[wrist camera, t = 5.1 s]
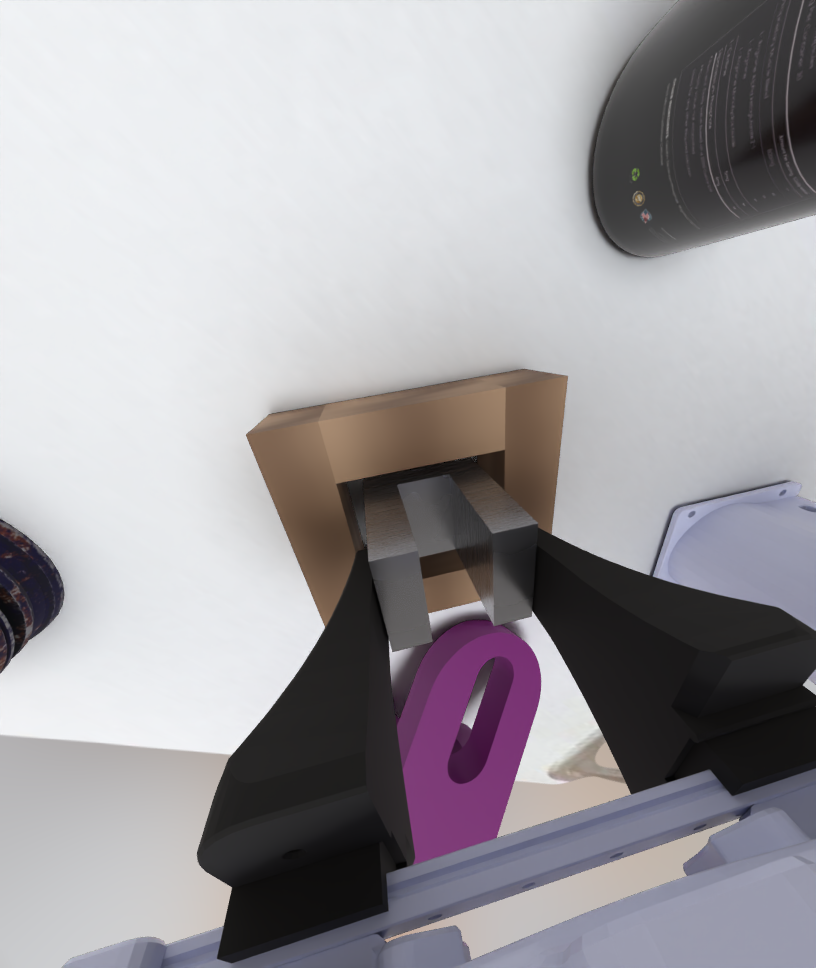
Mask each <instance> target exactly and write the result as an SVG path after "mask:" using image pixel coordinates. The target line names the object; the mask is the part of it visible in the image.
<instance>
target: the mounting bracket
mask: <svg viewBox="0 0 816 968" xmlns="http://www.w3.org/2000/svg"><path fill="white" fill-rule="evenodd" d="M494 657H495V662H494V665H493V668H492V671H491V674H490V677H489V680H488V683H487V686H486V689H485V692H484V695H483V698H482V701H481V704H480V707H479V710H478V713H477V716H476V719H475V722H474V725H473V728H472V730H471V729H470V728H469V727H468V726H467V725H465V724H463V723H461V722H462V719H463V716H464V713H465V710H466V707H467V704H468V701H469V698H470V696H471V693H472V690H473V687H474V684H475V681H476V678H477V675H478V673H479V671H480V669H481V668H482V666H483V665H484V664H485V663H486V662H487V661H488V660H490V659H492V658H494ZM540 692H541V674H540V668H539V664H538V661H537V658H536V656H535V654H534V652H533V651H532V649H531V648H530V646H529V645H528V644H527V643H526V642H525V641H523V640H522V639H521V638H519V637H518V636H517V635H515V634H514V633H513V632H511V631H510V630H508V629H507V628H506V627H504V626H503V625H497V626H494V625H493V623H492V621H489V620H468V621H464V622H462V623H459V624H457V625H455V626H454V627H452V628H450V629H449V630H447V631H446V632H445V633H444V634H442V635H441V636H440V637H439V638H438V639H437V640H436V641H435V642H434V644H433V645H432V646H431V647H430V649H429V650H428V651H427V653H426V654H425V656H424V658H423V660H422V662H421V663H420V666H419V668H418V670H417V673H416V676H415V678H414V681H413V684H412V687H411V689H410V692H409V695H408V698H407V700H406V703H405V706H404V709H403V711H402V714H401V717H400V718H399V717H398V716H396V715H395V718H396V725H397V733H398V740H399V747H400V755H401V762H402V769H403V776H404V783H405V790H406V797H407V804H408V810H409V817H410V824H411V831H412V838H413V844H414V851H415V860H414V863H413V865H414V864H418V863H421V862H424V861H427V860H430V859H433V858H436V857H439V856H442V855H445V854H449V853H452V852H455V851H458V850H461V849H464V848H467V847H470V846H473V845H476V844H480V843H483V842H486V841H489V840H492V839H495V838H497V835H498V831H499V828H500V825H501V821H502V819H503V815H504V812H505V809H506V806H507V802H508V799H509V796H510V793H511V790H512V787H513V784H514V780H515V777H516V774H517V771H518V768H519V765H520V761H521V758H522V755H523V752H524V749H525V746H526V742H527V739H528V736H529V733H530V730H531V726H532V723H533V720H534V717H535V714H536V711H537V707H538V703H539V699H540Z"/></svg>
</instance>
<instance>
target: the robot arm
mask: <svg viewBox="0 0 816 968" xmlns="http://www.w3.org/2000/svg"><path fill="white" fill-rule="evenodd" d="M801 487H802V485H801V484H800V483H798V482H794V481H792V482H787V483H783V484H779V485H774V486H770V487H766V488H761V489H757V490H753V491H748V492H744V493H740V494H735V495H731V496H727V497H722V498H718V499H714V500H710V501H705V502H701V503H697V504H692V505H688V506H684V507H680V508H678V509H677V510H676V511H675V512H674V513H673V516H672V519H671V522H670V525H669V528H668V531H667V534H666V537H665V540H664V543H663V547H662V550H661V553H660V556H659V559H658V562H657V565H656V568H655V571H654V574H653V576H649V575H646V574H643V573H640V572H637V571H634V570H631V569H629V568H626V567H623V566H621V565H618V564H615V563H613V562H610V561H608V560H605V559H603V558H600V557H598V556H596V555H593V554H591V553H589V552H587V551H584V550H582V549H580V548H578V547H576V546H574V545H571V544H569V543H567V542H565V541H563V540H561V539H559V538H557V537H555V536H553V535H552V534H550V533H548V532H546V531H544V530H542V529H540V528H538V536H537V550H536V564H535V577H534V591H533V605H532V611H533V612H534V614H535V615H536V617H537V618H538V619H539V621H540V622H541V624H542V625H543V627H544V628H545V630H546V631H547V633H548V634H549V636H550V637H551V639H552V640H553V642H554V644H555V645H556V647H557V649H558V651H559V653H560V654H561V656H562V658H563V660H564V661H565V663H566V665H567V667H568V668H569V670H570V672H571V674H572V676H573V678H574V680H575V681H576V683H577V685H578V687H579V689H580V691H581V693H582V694H583V696H584V698H585V700H586V702H587V704H588V706H589V708H590V710H591V712H592V714H593V716H594V718H595V720H596V722H597V724H598V726H599V728H600V730H601V732H602V734H603V736H604V738H605V740H606V742H607V744H608V746H609V748H610V750H611V752H612V754H613V756H614V758H615V761H616V763H617V765H618V767H619V769H620V771H621V773H622V775H623V777H624V780H625V782H626V784H627V786H628V788H629V790H630V793H631V795H629V796H625V797H623V798H619V799H616V800H613V801H610V802H607V803H604V804H600V805H598V806H594V807H591V808H588V809H585V810H582V811H579V812H576V813H573V814H569V815H566V816H563V817H560V818H557V819H554V820H551V821H548V822H545V823H542V824H538V825H535V826H532V827H529V828H526V829H523V830H520V831H517V832H514V833H511V834H507V835H504V836H501V837H498V838H495V839H492V840H489V841H486V842H483V843H480V844H476V845H473V846H470V847H467V848H464V849H461V850H458V851H455V852H452V853H449V854H445V855H442V856H439V857H436V858H433V859H430V860H427V861H424V862H421V863H418V864H414V865H413V863H414V860H415V851H414V844H413V838H412V831H411V824H410V817H409V810H408V804H407V797H406V790H405V783H404V776H403V769H402V762H401V755H400V747H399V740H398V733H397V725H396V718H395V710H394V703H393V695H392V688H391V677H390V659H389V637H388V633H387V629H386V626H385V622H384V618H383V614H382V610H381V607H380V603H379V599H378V595H377V592H376V588H375V584H374V580H373V577H372V573H371V569H370V565H369V561H368V549H363V550H359V551H357V553H356V555H355V559H354V562H353V565H352V568H351V571H350V574H349V577H348V580H347V582H346V585H345V587H344V590H343V592H342V594H341V597H340V599H339V601H338V603H337V605H336V607H335V610H334V612H333V614H332V616H331V618H330V620H329V622H328V624H327V625H326V627H325V629H324V631H323V633H322V634H321V636H320V638H319V640H318V641H317V643H316V645H315V646H314V648H313V650H312V651H311V653H310V654H309V656H308V657H307V659H306V661H305V662H304V664H303V665H302V667H301V668H300V670H299V671H298V673H297V674H296V675H295V677H294V678H293V680H292V681H291V682H290V684H289V685H288V686H287V688H286V689H285V690H284V692H283V693H282V694H281V696H280V697H279V698H278V700H277V701H276V703H275V704H274V705H273V707H272V708H271V709H270V710H269V712H268V713H267V714H266V715H265V717H264V718H263V719H262V720H261V721H260V723H259V724H258V725H257V726H256V727H255V729H254V730H253V731H252V732H251V733H250V735H249V736H248V737H247V738H246V739H245V740H244V742H243V743H242V744H241V745H240V746H239V748H238V749H237V750H236V751H235V752H234V753H233V755H232V756H231V757H230V758H229V759H228V762H227V764H226V767H225V770H224V772H223V775H222V777H221V780H220V782H219V785H218V787H217V790H216V793H215V796H214V799H213V802H212V805H211V808H210V812H209V815H208V818H207V822H206V825H205V828H204V832H203V835H202V838H201V842H200V845H199V848H198V851H197V858H198V862H199V865H200V866H201V867H202V868H203V869H204V870H205V871H206V872H207V873H209V874H211V875H212V876H214V877H216V878H217V879H219V880H221V881H222V882H225V883H226V884H227V885H229V886H231V887H232V891H231V896H230V900H229V905H228V909H227V914H226V919H225V923H224V926H222V927H219V928H216V929H213V930H210V931H207V932H204V933H200V934H197V935H194V936H191V937H188V938H185V939H182V940H179V941H176V942H173V943H170V944H165V942H164V941H163V940H161V939H158V938H155V937H141V938H135V939H130V940H126V941H123V942H120V943H117V944H114V945H111V946H107V947H104V948H101V949H98V950H95V951H92V952H89V953H86V954H82V955H79V956H76V957H73V958H71V959H70V960H69V961H68V962H66V963H65V964H64V965H63V967H62V968H816V695H815V694H813V693H812V692H811V691H810V690H808V689H807V688H805V687H804V686H803V684H804V683H805V681H806V680H807V679H809V680H810V681H811V682H813V683H814V684H815V685H816V502H813V501H810V500H807V499H804V498H802V497H799V496H797V495H798V493H799V491H800V490H801ZM738 818H740V819H739V822H737V823H735V824H734V825H731V826H729V827H727V828H725V829H723V830H721V831H719V832H717V833H715V834H713V835H711V836H710V837H709V840H708V843H707V845H706V846H705V847H704V848H703V849H702V850H701V851H700V852H699V853H698V854H696V855H695V856H694V857H692V858H691V859H689V860H688V861H687V862H685V863H684V864H683V869H684V871H685V873H686V875H687V876H686V877H683V878H680V879H677V880H674V881H671V882H668V883H665V884H662V885H660V886H657V887H654V888H651V889H648V890H646V891H643V892H640V893H637V894H634V895H631V896H629V897H626V898H623V899H621V900H618V901H616V902H613V903H610V904H608V905H605V906H602V907H600V908H597V909H595V910H592V911H589V912H587V913H584V914H582V915H580V916H577V917H574V918H572V919H570V920H567V921H565V922H562V923H560V924H557V925H555V926H552V927H550V928H547V929H545V930H543V931H540V932H538V933H535V934H533V935H530V936H528V937H526V938H523V939H521V940H519V941H516V942H514V943H511V944H509V945H506V946H504V947H502V948H499V949H497V950H494V951H492V952H490V953H487V954H485V955H482V956H480V957H478V958H475V959H473V960H471V957H470V951H469V947H468V946H467V944H466V943H464V942H463V941H462V936H461V931H460V930H459V929H458V927H457V926H450V927H445V928H440V929H434V930H429V931H424V932H419V933H414V934H410V935H406V936H402V937H399V938H396V939H393V940H391V941H389V942H386V941H385V939H388V938H391V937H393V936H396V935H399V934H402V933H405V932H408V931H411V930H414V929H417V928H420V927H423V926H426V925H429V924H431V923H434V922H437V921H440V920H443V919H446V918H449V917H452V916H455V915H458V914H461V913H463V912H466V911H469V910H472V909H475V908H478V907H481V906H484V905H487V904H490V903H493V902H496V901H499V900H502V899H505V898H507V897H510V896H513V895H516V894H519V893H522V892H525V891H528V890H531V889H534V888H536V887H540V886H543V885H545V884H548V883H551V882H554V881H557V880H560V879H563V878H566V877H569V876H572V875H575V874H577V873H581V872H583V871H586V870H589V869H592V868H595V867H598V866H601V865H604V864H607V863H610V862H613V861H615V860H619V859H621V858H624V857H627V856H630V855H633V854H636V853H639V852H642V851H645V850H648V849H650V848H653V847H656V846H659V845H662V844H665V843H668V842H671V841H674V840H677V839H680V838H683V837H686V836H689V835H692V834H694V833H697V832H700V831H703V830H706V829H709V828H712V827H715V826H718V825H721V824H724V823H727V822H730V821H732V820H735V819H738Z"/></svg>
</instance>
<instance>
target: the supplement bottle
mask: <svg viewBox="0 0 816 968" xmlns="http://www.w3.org/2000/svg"><path fill="white" fill-rule="evenodd" d="M593 192H594V200H595V205H596V209H597V213H598V216H599V219H600V221H601V224H602V226H603V228H604V230H605V231H606V233H607V234H608V236H609V237H610V238H611V240H612V241H613V242H614V243H615V244H616V245H617V246H619V247H620V248H622V249H623V250H624V251H626V252H628V253H630V254H633V255H637V256H643V257H658V256H665V255H669V254H673V253H677V252H681V251H685V250H688V249H692V248H696V247H700V246H704V245H707V244H711V243H714V242H718V241H722V240H725V239H729V238H733V237H736V236H740V235H744V234H747V233H751V232H754V231H758V230H762V229H765V228H769V227H773V226H776V225H780V224H784V223H787V222H791V221H795V220H798V219H802V218H805V217H809V216H813V215H816V0H678V1H677V2H676V4H675V5H674V6H673V7H672V8H671V9H670V10H669V11H668V12H667V13H666V14H665V15H664V16H663V18H662V19H661V20H660V21H659V22H658V23H657V24H656V25H655V27H654V28H653V29H652V30H651V31H650V33H649V34H648V35H647V36H646V37H645V39H644V40H643V41H642V42H641V44H640V45H639V46H638V48H637V49H636V51H635V52H634V53H633V55H632V57H631V58H630V60H629V61H628V63H627V65H626V66H625V68H624V70H623V72H622V73H621V75H620V77H619V79H618V81H617V83H616V85H615V87H614V89H613V92H612V94H611V96H610V99H609V101H608V104H607V107H606V109H605V112H604V115H603V118H602V122H601V125H600V129H599V133H598V137H597V141H596V147H595V153H594V162H593Z"/></svg>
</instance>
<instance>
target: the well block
mask: <svg viewBox="0 0 816 968" xmlns="http://www.w3.org/2000/svg"><path fill="white" fill-rule="evenodd" d="M567 379H568V376H564V375H558V374H552V373H546V372H539V371H533V370H527V369H522V370H516V371H510V372H505V373H499V374H493V375H488V376H482V377H477V378H471V379H465V380H460V381H454V382H448V383H443V384H437V385H432V386H426V387H420V388H415V389H409V390H403V391H398V392H392V393H386V394H381V395H375V396H370V397H364V398H358V399H353V400H347V401H341V402H336V403H330V404H324V405H319V406H313V407H308V408H302V409H296V410H291V411H285V412H279V413H274V414H269V415H268V416H267V417H266V418H264V419H263V420H262V421H261V422H260V423H259V424H258V425H256V426H255V427H254V428H253V429H252V430H251V431H250V432H248V433H247V434H246V436H247V439H248V441H249V444H250V446H251V449H252V451H253V453H254V456H255V458H256V461H257V463H258V466H259V468H260V470H261V473H262V475H263V478H264V480H265V483H266V485H267V487H268V490H269V492H270V495H271V497H272V499H273V502H274V504H275V507H276V509H277V512H278V514H279V516H280V519H281V521H282V524H283V526H284V529H285V531H286V533H287V536H288V538H289V541H290V543H291V546H292V548H293V550H294V553H295V555H296V558H297V560H298V563H299V565H300V567H301V570H302V572H303V575H304V577H305V579H306V582H307V584H308V587H309V589H310V592H311V594H312V596H313V599H314V601H315V604H316V606H317V609H318V611H319V613H320V616H321V618H322V621H323V623H324V626H325V627H326V625H327V624H328V622H329V620H330V618H331V616H332V614H333V612H334V610H335V607H336V605H337V603H338V601H339V599H340V597H341V594H342V592H343V590H344V587H345V585H346V582H347V580H348V577H349V574H350V571H351V568H352V565H353V562H354V559H355V555H356V553H357V551H359V550H363V549H364V545H363V541H362V538H361V534H360V530H359V526H358V523H357V519H356V515H355V512H354V508H353V504H352V500H351V497H350V493H349V489H348V486H347V481H352V480H357V479H362V478H367V477H372V476H377V475H382V474H387V473H392V472H397V471H402V470H407V469H412V468H417V467H422V466H427V465H432V464H437V463H442V462H447V461H452V460H456V459H461V458H466V457H471V456H476V455H477V464H478V465H479V466H480V467H481V468H482V469H483V470H484V471H485V472H486V473H487V474H488V475H489V476H490V477H491V478H492V479H493V480H494V481H495V482H496V483H497V484H498V485H499V486H500V487H501V488H502V489H503V490H505V491H506V492H507V493H508V494H509V495H510V496H511V497H512V498H513V499H514V500H515V501H516V502H517V503H518V504H519V505H520V506H521V507H522V508H523V509H524V510H525V511H526V512H527V513H528V514H529V515H530V516H531V517H532V518H533V519H534V520H535V521H536V522H538V528H540V529H542V530H544V531H546V532H548V533H550V534H551V533H552V524H553V514H554V504H555V495H556V485H557V475H558V466H559V456H560V446H561V437H562V427H563V418H564V408H565V398H566V389H567ZM419 560H420V567H421V573H422V579H423V585H424V591H425V597H426V603H427V610H428V613H432V612H436V611H440V610H444V609H448V608H452V607H456V606H460V605H464V604H468V603H472V602H477V601H481V599H480V597H479V595H478V593H477V591H476V589H475V587H474V585H473V583H472V581H471V579H470V577H469V575H468V573H467V571H466V569H465V567H464V565H463V563H462V561H461V559H460V557H459V555H458V553H457V551H456V549H453V550H449V551H445V552H440V553H436V554H432V555H427V556H423V557H419Z"/></svg>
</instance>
